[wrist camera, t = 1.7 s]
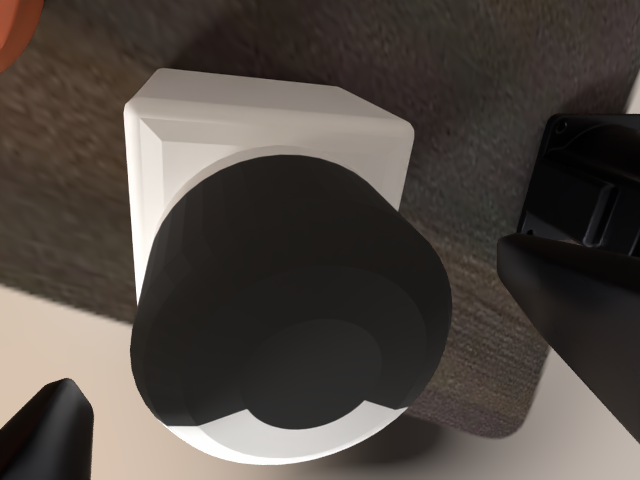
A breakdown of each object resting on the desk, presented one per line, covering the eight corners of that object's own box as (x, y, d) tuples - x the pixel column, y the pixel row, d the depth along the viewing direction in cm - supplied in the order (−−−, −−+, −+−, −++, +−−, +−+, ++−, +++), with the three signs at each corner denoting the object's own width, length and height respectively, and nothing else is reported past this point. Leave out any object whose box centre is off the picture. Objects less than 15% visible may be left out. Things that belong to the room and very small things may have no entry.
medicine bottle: (153, 65, 15) (47, 166, 5) (343, 86, 17) (558, 190, 7) (160, 244, 18) (105, 538, 8) (321, 244, 20) (445, 482, 10)
